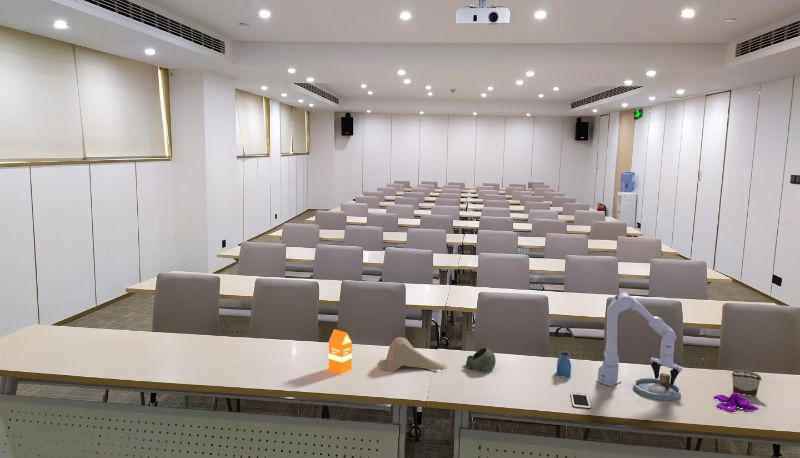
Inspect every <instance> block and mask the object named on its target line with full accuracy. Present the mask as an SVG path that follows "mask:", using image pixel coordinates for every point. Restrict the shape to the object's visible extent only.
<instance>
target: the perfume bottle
mask: <svg viewBox="0 0 800 458" xmlns="http://www.w3.org/2000/svg"><path fill="white" fill-rule="evenodd" d="M556 360H557V361H556V375H557V377H558V376H564V377H563V378H568V377H570V378H572V377H571V373H572V363H571V360H570V358H569V351H568V350H561V353H560V356H559V357H558V359H556Z"/></svg>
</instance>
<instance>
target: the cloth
mask: <svg viewBox="0 0 800 458" xmlns="http://www.w3.org/2000/svg"><path fill="white" fill-rule="evenodd" d="M712 398H714V399H718V400H721V401H723V402H721V401H720V402H719V403H717V404H716V405H715V406H716V407H717V408H716V409H718V408H720V409H719V410H721V409H724V410H723V411H725V410H727V411H726V412H728V411H730V412H729V413H731V412H737V410H738V409H739V408H743V409H747V410H756V411H759V410H760V408H759V407H758V406H755V405H753V404H751V402H750V400H749V399H748V398H745V397H742V395H739V394H738V393H733V392H732V393H731V394H730V396H727V395H725V394H717V395H714V396H712ZM718 400H717V401H718ZM724 402H726V403H724ZM749 402H750V403H749ZM728 407H730V408H728ZM737 407H739V408H738V409H737ZM736 409H737V410H736ZM758 409H759V410H758ZM735 410H736V411H735ZM747 410H743V411H744V412H750V411H747ZM744 412H743V413H744Z"/></svg>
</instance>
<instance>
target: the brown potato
mask: <svg viewBox="0 0 800 458" xmlns="http://www.w3.org/2000/svg"><path fill="white" fill-rule="evenodd" d="M659 379H660V380H659V384H660V385H663V386H664V387H665V389H669V384H670V380H671V374H668V373H664V372H661V373H659Z"/></svg>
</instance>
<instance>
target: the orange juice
mask: <svg viewBox="0 0 800 458" xmlns="http://www.w3.org/2000/svg"><path fill="white" fill-rule="evenodd" d="M352 360H353V341H352V340H351V338H350V336H349V334H348V333H347V332H345V331H342V330H338V329H335V328H334V329H333V331H332V333H331V335H330V337H329V340H328V371H331V372H334V373H336V374H340V375H343V374H345V373H347V372H349V371H352V369H353V368H352V367H353V366H352V365H353V364H352V363H353V361H352Z"/></svg>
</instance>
